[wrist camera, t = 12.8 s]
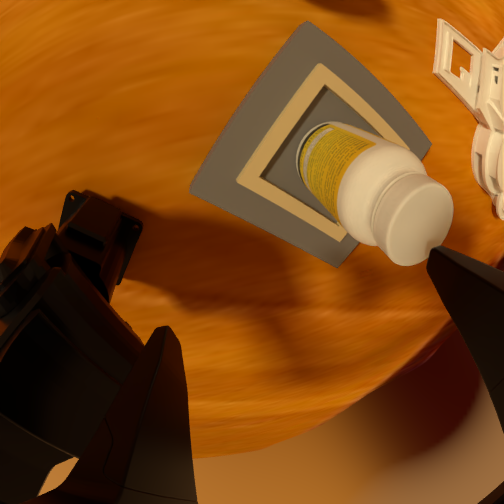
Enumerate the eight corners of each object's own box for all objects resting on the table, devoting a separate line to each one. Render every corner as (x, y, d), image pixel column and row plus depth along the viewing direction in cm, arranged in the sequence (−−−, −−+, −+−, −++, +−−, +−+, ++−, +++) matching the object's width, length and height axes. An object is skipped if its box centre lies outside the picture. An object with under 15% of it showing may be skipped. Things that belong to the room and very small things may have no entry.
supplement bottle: (294, 198, 19) (361, 291, 11) (291, 121, 16) (380, 165, 8) (361, 190, 19) (446, 266, 11) (364, 120, 16) (473, 165, 8)
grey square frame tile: (331, 258, 24) (340, 272, 23) (190, 185, 19) (188, 196, 17) (421, 139, 19) (436, 146, 17) (300, 24, 13) (311, 18, 11)
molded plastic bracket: (529, 66, 13) (551, 73, 10) (498, 213, 27) (518, 229, 23) (432, -32, 9) (463, -37, 5) (402, 185, 22) (432, 206, 18)
